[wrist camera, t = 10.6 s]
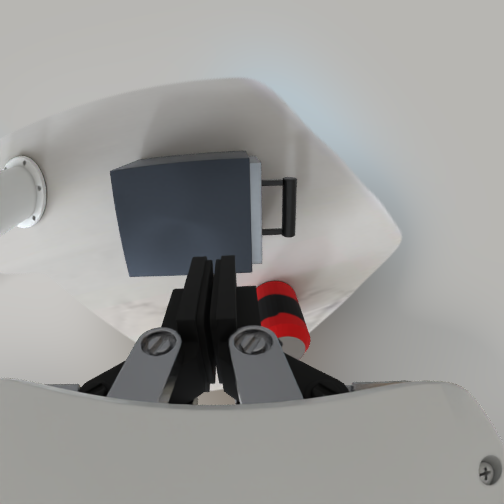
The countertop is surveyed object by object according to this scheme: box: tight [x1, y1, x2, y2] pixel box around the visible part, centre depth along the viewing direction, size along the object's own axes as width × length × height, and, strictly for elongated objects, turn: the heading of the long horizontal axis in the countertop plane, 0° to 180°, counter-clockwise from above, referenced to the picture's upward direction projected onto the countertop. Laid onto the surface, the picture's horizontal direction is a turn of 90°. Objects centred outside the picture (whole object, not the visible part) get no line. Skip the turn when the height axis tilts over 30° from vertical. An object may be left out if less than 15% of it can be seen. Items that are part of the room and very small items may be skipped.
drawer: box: [248, 156, 297, 264], centre depth 32 cm, size 18×11×8 cm, turn 91°
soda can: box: [256, 281, 310, 360], centre depth 39 cm, size 8×8×12 cm
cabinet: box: [110, 151, 252, 277], centre depth 32 cm, size 15×13×10 cm
